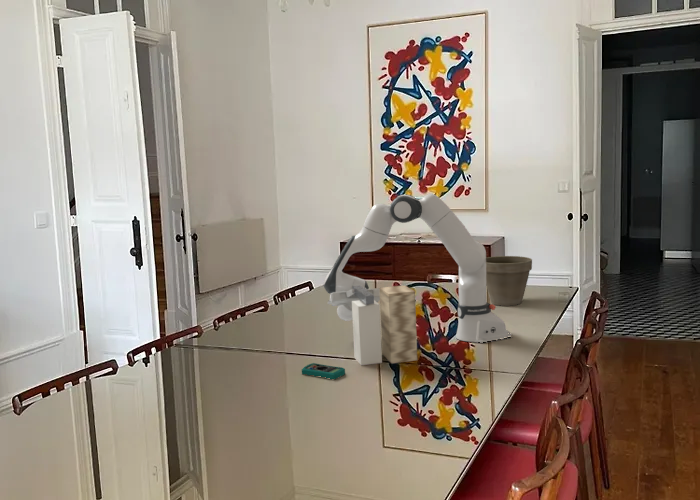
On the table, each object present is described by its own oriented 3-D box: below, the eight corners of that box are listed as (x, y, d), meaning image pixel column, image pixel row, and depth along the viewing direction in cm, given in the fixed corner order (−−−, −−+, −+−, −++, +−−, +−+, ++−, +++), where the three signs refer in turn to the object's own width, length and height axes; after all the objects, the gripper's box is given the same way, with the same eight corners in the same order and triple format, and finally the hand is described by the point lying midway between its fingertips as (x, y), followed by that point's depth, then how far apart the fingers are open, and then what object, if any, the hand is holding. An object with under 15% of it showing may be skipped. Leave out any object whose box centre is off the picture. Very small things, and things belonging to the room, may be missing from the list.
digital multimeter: (312, 369, 255) (312, 361, 254) (346, 375, 247) (345, 367, 246) (300, 375, 249) (299, 367, 248) (334, 381, 241) (333, 373, 240)
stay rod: (360, 292, 271) (359, 285, 270) (374, 303, 251) (373, 295, 251) (352, 293, 270) (352, 285, 269) (366, 304, 251) (365, 296, 250)
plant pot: (493, 295, 359) (492, 253, 355) (540, 299, 344) (539, 256, 341) (471, 305, 339) (470, 261, 335) (520, 310, 324) (519, 264, 321)
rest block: (374, 355, 267) (372, 298, 264) (382, 362, 257) (379, 304, 254) (354, 357, 265) (351, 300, 262) (361, 365, 255) (358, 306, 252)
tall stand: (407, 351, 270) (404, 285, 266) (417, 360, 258) (414, 291, 254) (382, 354, 267) (379, 287, 264) (391, 363, 256) (388, 293, 252)
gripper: (325, 296, 277) (331, 284, 265) (375, 291, 282) (383, 280, 269) (328, 311, 275) (333, 300, 262) (378, 306, 279) (385, 295, 267)
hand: (359, 290), depth 266 cm, fingers closed on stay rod, 3 cm apart
